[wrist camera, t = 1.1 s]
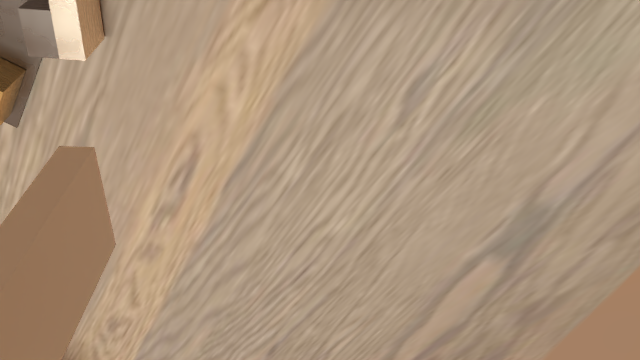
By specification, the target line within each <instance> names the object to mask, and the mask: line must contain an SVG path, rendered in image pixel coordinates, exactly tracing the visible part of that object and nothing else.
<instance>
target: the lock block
mask: <svg viewBox="0 0 640 360" xmlns="http://www.w3.org/2000/svg"><path fill="white" fill-rule="evenodd" d="M25 71H26V70H24V69H22V68H20V67H18V66H16V65H14V64H12V63H10V62H8V61H6V60H4V59H2V58H0V125H1V124H2V123H3V122H4V121H5V120H6V119H7V118H8V117H9V116H10V114H11V112H12V109H13V106H14V104H15V101H16V98H17V95H18V92H19V89H20V86H21V83H22V80H23V77H24V74H25Z"/></svg>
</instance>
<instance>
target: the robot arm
mask: <svg viewBox="0 0 640 360" xmlns="http://www.w3.org/2000/svg"><path fill="white" fill-rule="evenodd" d="M115 245H116V243H115V238H114V234H113V229H112V225H111V220H110V216H109V211H108V207H107V202H106V198H105V193H104V189H103V184H102V180H101V175H100V171H99V166H98V162H97V157H96V153H95V148H94V147H69V146H59V147H58V149H57V150H56V151H55V153H54V154H53V155H52V157H51V158H50V159H49V161H48V162H47V163H46V165H45V166H44V167H43V169H42V170H41V171H40V173H39V174H38V176H37V177H36V178H35V180H34V181H33V182H32V184H31V185H30V186H29V188H28V189H27V190H26V192H25V193H24V194H23V196H22V197H21V199H20V200H19V201H18V203H17V204H16V205H15V207H14V208H13V209H12V211H11V212H10V213H9V215H8V216H7V217H6V219H5V220H4V222H3V223H2V224H1V226H0V360H62V358H63V356H64V354H65V351H66V349H67V347H68V345H69V343H70V341H71V339H72V337H73V335H74V332H75V330H76V328H77V326H78V324H79V322H80V320H81V318H82V315H83V313H84V311H85V309H86V307H87V305H88V303H89V301H90V298H91V296H92V294H93V292H94V290H95V288H96V286H97V284H98V281H99V279H100V277H101V275H102V273H103V271H104V269H105V267H106V264H107V262H108V260H109V258H110V256H111V254H112V252H113V250H114V247H115Z"/></svg>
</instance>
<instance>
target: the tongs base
mask: <svg viewBox="0 0 640 360" xmlns="http://www.w3.org/2000/svg"><path fill="white" fill-rule="evenodd" d="M27 1H28V0H0V58H2V59H4V60H6V61H8V62H10V63H12V64H14V65H16V66H18V67H20V68H22V69H24V70H26V71H25V74H24V77H23V80H22V83H21V86H20V89H19V92H18V95H17V98H16V101H15V104H14V106H13V109H12V112H11V114H10V116H9V117H8V118H7V119H6V120H5V121H4V122H5V123H8V124H10V125H12V126H14V127H16V128H17V127H18V124H19V122H20V119H21V116H22V113H23V110H24V108H25V105H26V102H27V99H28V96H29V93H30V91H31V88H32V85H33V82H34V79H35V77H36V74H37V71H38V68H39V65H40V62H41V60H42V57H31V56H28V52H27V48H26V43H25V39H24V34H23V30H22V25H21V21H20V16H19V12H18V8H19V7H20V6H21V5H23V4H24V3H25V2H27Z"/></svg>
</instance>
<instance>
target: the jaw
mask: <svg viewBox="0 0 640 360" xmlns="http://www.w3.org/2000/svg"><path fill="white" fill-rule="evenodd" d="M18 12H19V16H20V21H21V25H22V30H23V34H24V39H25V43H26V48H27V52H28V56H31V57H45V58H58V59H72V60H85V61H86V59H87V58H88V57H89V56H90V55H91V54H92V52H93V51H94V50H95V49H96V48H97V47H98V45H99V44H100V43H101V42H102V41H103V40H104V32H103V25H102V17H101V10H100V3H99V0H28V1H27V2H25V3H24V4H23V5H21V6H20V7H19V8H18Z"/></svg>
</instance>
